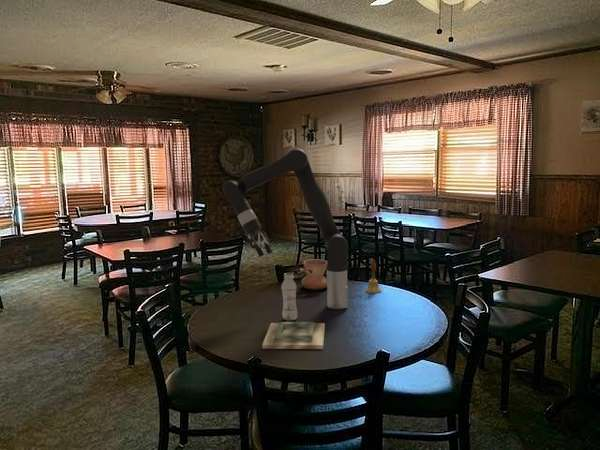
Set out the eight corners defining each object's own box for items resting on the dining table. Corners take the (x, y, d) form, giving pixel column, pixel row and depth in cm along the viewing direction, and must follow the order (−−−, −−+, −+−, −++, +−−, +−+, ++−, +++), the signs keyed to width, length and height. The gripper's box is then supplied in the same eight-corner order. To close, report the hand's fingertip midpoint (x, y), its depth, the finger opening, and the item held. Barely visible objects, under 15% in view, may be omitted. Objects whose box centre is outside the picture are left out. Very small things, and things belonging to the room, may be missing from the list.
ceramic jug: (305, 293, 238) (305, 266, 236) (295, 286, 251) (295, 259, 249) (337, 289, 244) (338, 263, 242) (326, 282, 258) (326, 257, 255)
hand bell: (363, 289, 243) (363, 258, 241) (379, 288, 244) (379, 257, 242) (367, 293, 235) (367, 262, 233) (383, 292, 236) (383, 261, 233)
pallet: (324, 326, 192) (324, 318, 192) (322, 349, 170) (322, 339, 170) (271, 326, 194) (270, 318, 194) (262, 348, 172) (262, 339, 172)
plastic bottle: (286, 323, 197) (285, 276, 194) (279, 318, 203) (278, 273, 200) (300, 320, 200) (299, 274, 197) (293, 316, 206) (291, 271, 203)
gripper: (248, 218, 200) (266, 252, 198) (262, 216, 213) (279, 248, 211) (234, 227, 202) (252, 260, 201) (250, 224, 216) (266, 256, 214)
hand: (266, 254), depth 206 cm, fingers open, 8 cm apart
